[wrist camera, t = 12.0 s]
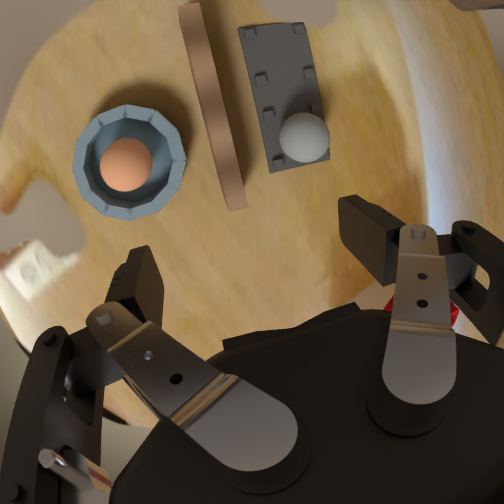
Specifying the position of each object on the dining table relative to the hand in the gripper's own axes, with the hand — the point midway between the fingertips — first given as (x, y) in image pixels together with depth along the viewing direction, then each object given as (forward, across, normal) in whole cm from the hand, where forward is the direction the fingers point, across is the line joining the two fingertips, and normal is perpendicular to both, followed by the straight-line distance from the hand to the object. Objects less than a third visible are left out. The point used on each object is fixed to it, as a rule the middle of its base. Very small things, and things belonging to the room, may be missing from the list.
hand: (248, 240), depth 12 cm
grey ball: (+17, -9, 0) cm, 20 cm away
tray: (+20, -9, -5) cm, 23 cm away
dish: (+20, +8, -2) cm, 22 cm away
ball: (+17, +8, -2) cm, 19 cm away
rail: (+20, -1, -5) cm, 21 cm away
